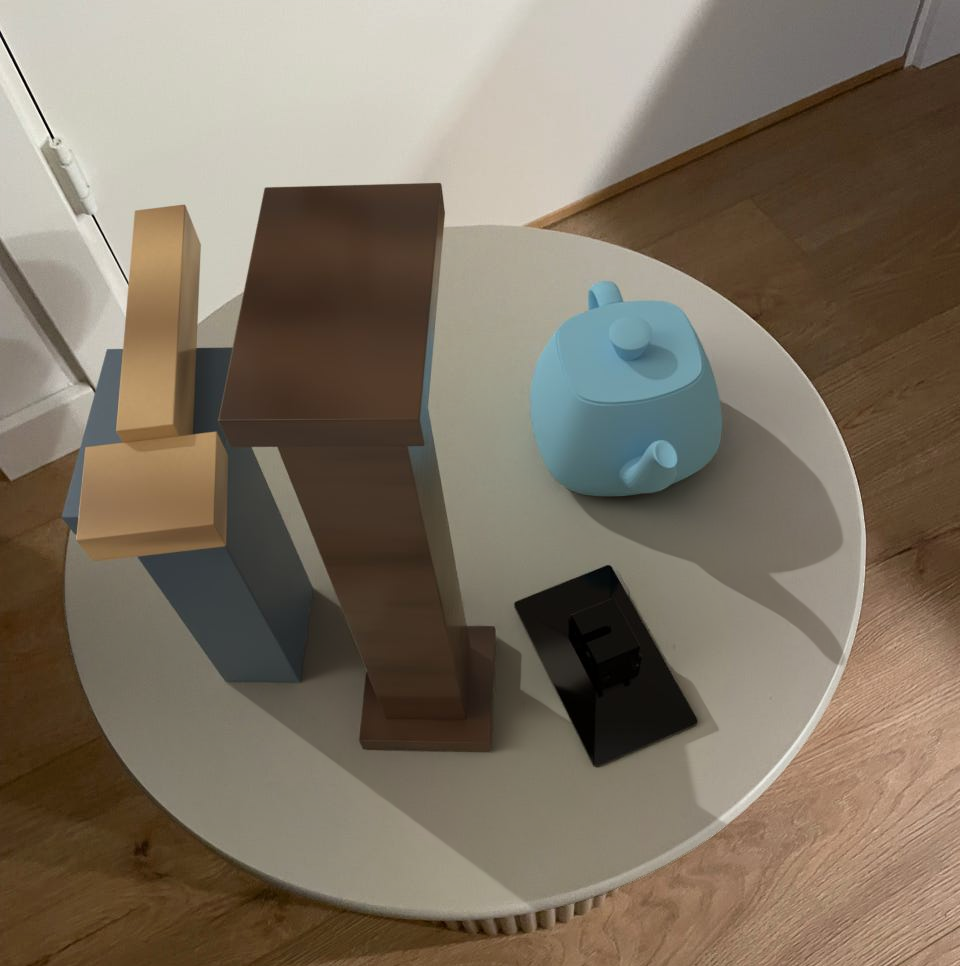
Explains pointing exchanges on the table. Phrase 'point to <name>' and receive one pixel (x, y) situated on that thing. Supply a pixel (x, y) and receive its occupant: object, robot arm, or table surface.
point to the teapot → (624, 398)
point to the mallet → (157, 413)
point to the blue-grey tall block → (222, 570)
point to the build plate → (604, 665)
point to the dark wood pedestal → (365, 442)
